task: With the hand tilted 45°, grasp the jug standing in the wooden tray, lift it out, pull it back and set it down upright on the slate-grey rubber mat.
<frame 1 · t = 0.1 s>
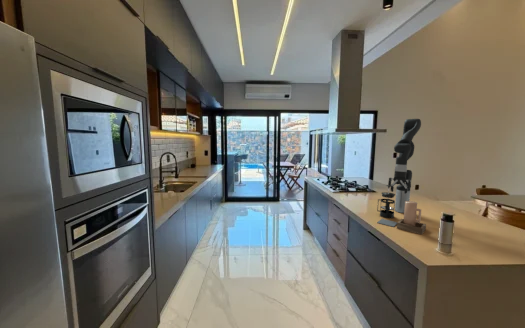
hand: (398, 192, 166), 17 cm above the countertop, tool pointing down, fingers open, 8 cm apart
jug: (408, 228, 143), resting in wooden tray
french press: (385, 216, 166), on the countertop
mat: (387, 223, 151), on the countertop
wooden tray: (411, 228, 142), on the countertop
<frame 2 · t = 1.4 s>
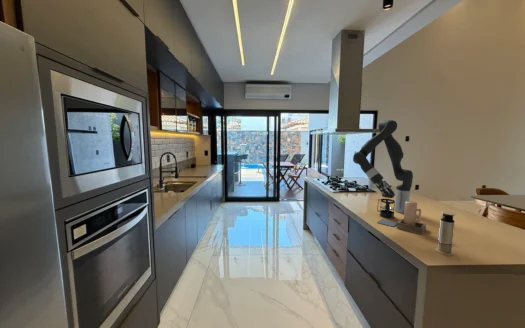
hand: (391, 195, 149), 19 cm above the countertop, tool tilted 45°, fingers open, 8 cm apart
nothing on the countertop moved.
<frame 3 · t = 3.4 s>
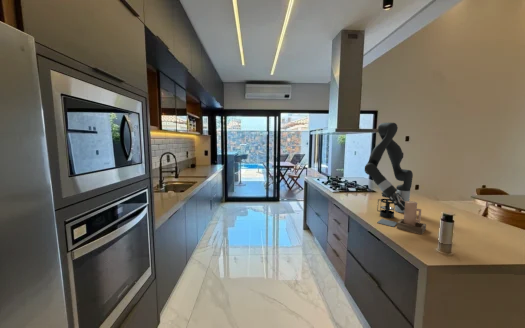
hand: (405, 208, 143), 12 cm above the countertop, tool tilted 45°, fingers open, 8 cm apart
nothing on the countertop moved.
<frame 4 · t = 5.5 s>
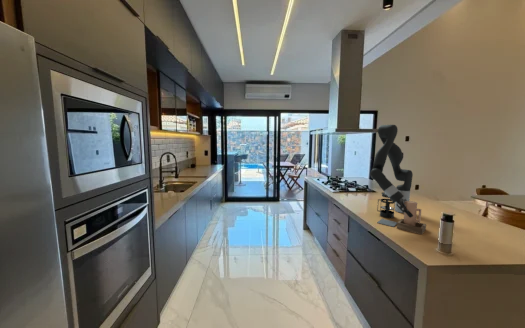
hand: (413, 215, 141), 9 cm above the countertop, tool tilted 45°, fingers closed on jug, 6 cm apart
jug: (408, 228, 143), resting in wooden tray, touching gripper
everything else where it was.
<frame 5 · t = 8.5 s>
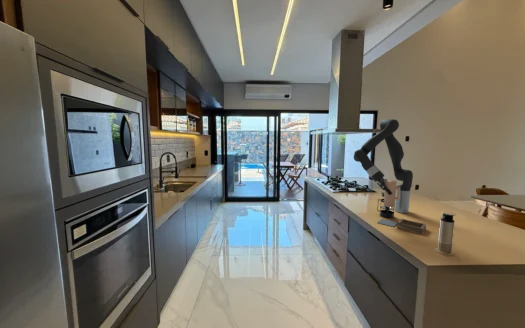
hand: (392, 193, 148), 21 cm above the countertop, tool tilted 45°, fingers closed on jug, 6 cm apart
jug: (389, 206, 150), point 12 cm above the countertop, touching gripper
everything else where it was.
when the fingers open (10 cm above the countertop, at t = 11.5 s): jug stays where it is, resting on mat.
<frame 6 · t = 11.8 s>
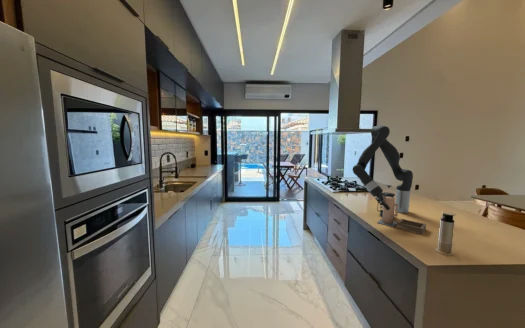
hand: (390, 208, 149), 11 cm above the countertop, tool tilted 45°, fingers open, 8 cm apart
jug: (387, 222, 151), point 1 cm above the countertop, touching mat
everything else where it was.
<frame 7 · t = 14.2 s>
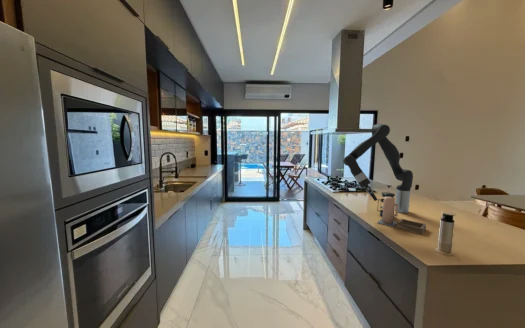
hand: (375, 199, 157), 14 cm above the countertop, tool tilted 35°, fingers open, 8 cm apart
nothing on the countertop moved.
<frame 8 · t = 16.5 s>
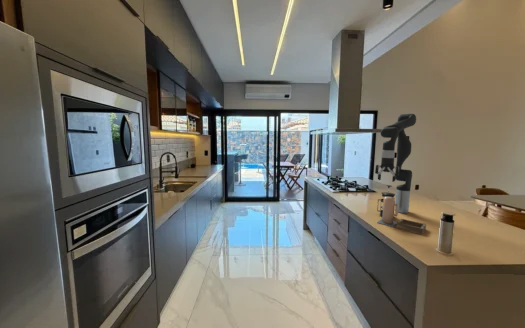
hand: (386, 180, 153), 28 cm above the countertop, tool pointing down, fingers open, 8 cm apart
nothing on the countertop moved.
at the end: jug inside the target area (0.2 cm from its centre), point 0.5 cm above the countertop; jug tilted 0°; the gripper is holding nothing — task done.
